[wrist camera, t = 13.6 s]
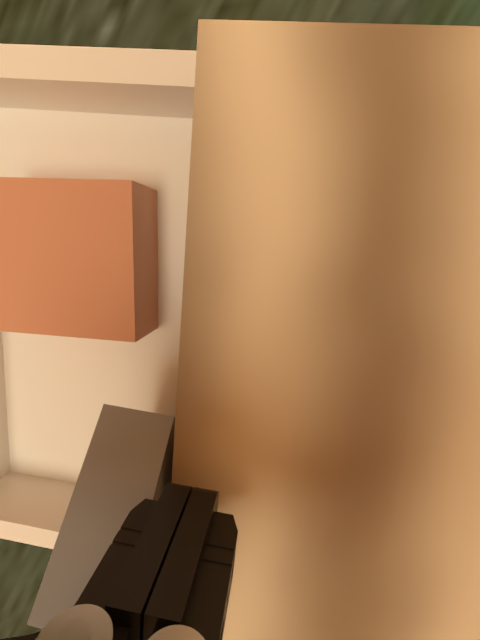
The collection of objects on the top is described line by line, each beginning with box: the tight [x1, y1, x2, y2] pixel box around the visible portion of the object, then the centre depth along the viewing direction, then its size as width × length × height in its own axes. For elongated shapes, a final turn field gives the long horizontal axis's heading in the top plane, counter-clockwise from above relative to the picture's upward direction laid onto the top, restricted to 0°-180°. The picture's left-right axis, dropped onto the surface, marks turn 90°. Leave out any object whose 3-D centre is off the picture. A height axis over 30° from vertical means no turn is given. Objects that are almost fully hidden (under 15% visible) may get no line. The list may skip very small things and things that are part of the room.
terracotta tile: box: [0, 177, 158, 342], centre depth 15 cm, size 6×6×2 cm
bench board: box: [172, 19, 480, 640], centre depth 13 cm, size 12×19×6 cm, turn 175°
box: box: [0, 44, 197, 549], centre depth 15 cm, size 11×20×4 cm, turn 175°
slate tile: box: [27, 404, 175, 629], centre depth 13 cm, size 6×6×2 cm
